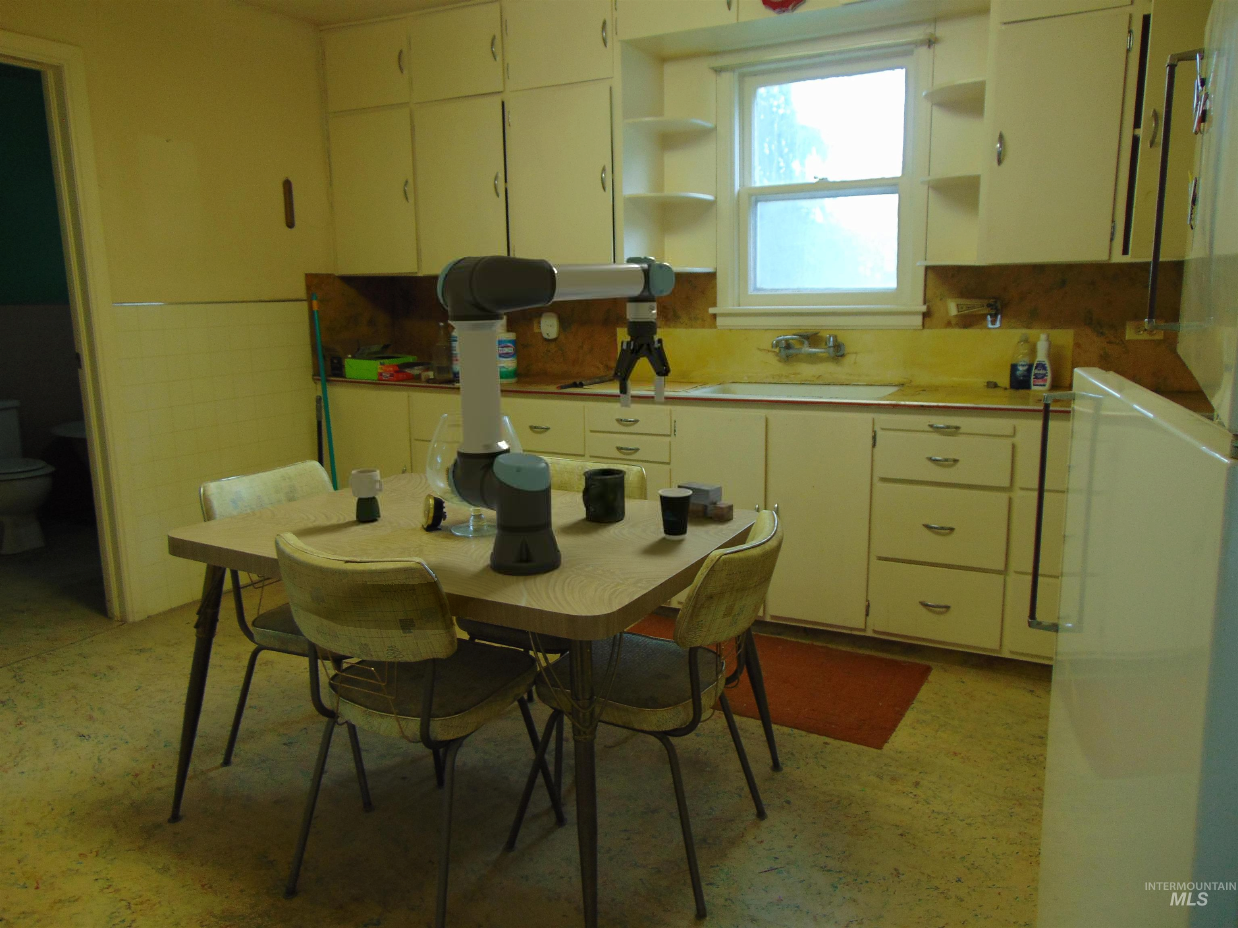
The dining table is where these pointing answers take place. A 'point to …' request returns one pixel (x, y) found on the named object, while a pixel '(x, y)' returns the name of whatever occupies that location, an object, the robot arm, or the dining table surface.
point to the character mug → (366, 493)
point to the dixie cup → (675, 512)
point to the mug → (604, 494)
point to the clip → (704, 494)
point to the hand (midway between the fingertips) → (642, 404)
